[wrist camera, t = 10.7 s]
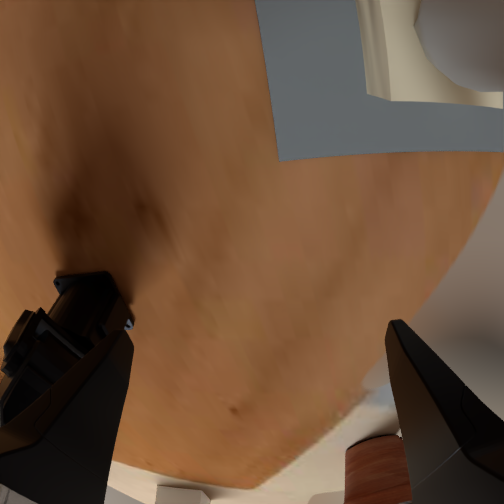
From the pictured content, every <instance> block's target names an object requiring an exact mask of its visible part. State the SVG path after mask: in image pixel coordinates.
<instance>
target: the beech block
mask: <svg viewBox="0 0 504 504" xmlns="http://www.w3.org/2000/svg"><path fill="white" fill-rule="evenodd" d="M355 2H356V8H357V14H358V21H359V27H360V34H361V42H362V50H363V58H364V67H365V77H366V89H367V94H369V95H373V96H376V97H379V98H383V99H386V100H389V101H414V102H438V103H453V104H465V105H475V106H485V107H493V108H500V109H503V92H479V91H475V90H472V89H469V88H465V87H462V86H459V85H457V84H455V83H454V82H452V81H451V80H450V79H449V78H448V77H447V76H445V75H444V74H443V73H442V72H441V71H439V70H438V69H437V68H436V67H435V66H434V65H433V64H432V63H431V62H430V61H429V60H428V59H427V58H426V56H425V53H424V51H423V48H422V46H421V43H420V41H419V38H418V36H417V33H416V31H415V29H414V27H413V26H414V25H415V23H416V21H417V18H418V13H419V9H420V4H421V0H355Z"/></svg>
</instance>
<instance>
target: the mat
mask: <svg viewBox="0 0 504 504" xmlns="http://www.w3.org/2000/svg"><path fill="white" fill-rule="evenodd" d="M255 4H256V10H257V16H258V21H259V27H260V33H261V39H262V45H263V51H264V58H265V64H266V71H267V77H268V84H269V90H270V97H271V104H272V111H273V118H274V126H275V133H276V140H277V148H278V156H279V162H280V161H289V160H298V159H308V158H318V157H329V156H342V155H355V154H371V153H390V152H417V151H487V152H503V151H504V92H503V109H500V108H493V107H485V106H475V105H465V104H453V103H438V102H414V101H389V100H386V99H383V98H379V97H376V96H373V95H369V94H367V89H366V77H365V67H364V58H363V50H362V42H361V34H360V27H359V21H358V14H357V8H356V2H355V0H255Z"/></svg>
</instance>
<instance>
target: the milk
mask: <svg viewBox="0 0 504 504" xmlns="http://www.w3.org/2000/svg"><path fill="white" fill-rule="evenodd" d="M210 502H211V500H210V499H209V498H208V497H207V496H206V495H205V493H204V492H203V491H202V490H192V489H182V488H173V487H166V486H159V485H157V492H156V502H155V504H210Z"/></svg>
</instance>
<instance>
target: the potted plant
mask: <svg viewBox="0 0 504 504" xmlns="http://www.w3.org/2000/svg"><path fill="white" fill-rule="evenodd" d="M411 490H412V489H411V485H410V478H409V472H408V466H407V460H406V455H405V449H404V444H403V440H402V437H400V438H399V436H398V435H391V436H383V437H378V438H374V439H371V440H367V441H364V442H362V443H360V444H357V445H356V446H354V447H352V448H350V449H349V450H347V451H346V454H345V498H344V504H413V500H412V492H411Z"/></svg>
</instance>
